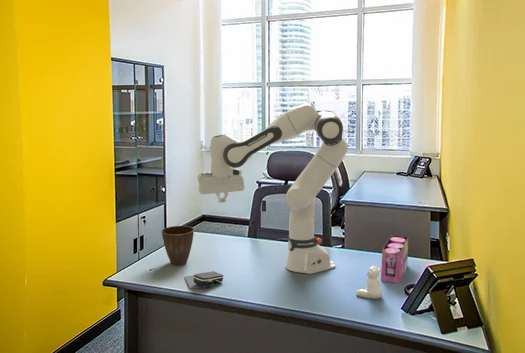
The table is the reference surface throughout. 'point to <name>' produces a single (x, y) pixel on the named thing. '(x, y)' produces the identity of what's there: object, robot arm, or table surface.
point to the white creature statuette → (371, 285)
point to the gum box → (394, 259)
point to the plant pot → (178, 243)
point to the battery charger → (207, 278)
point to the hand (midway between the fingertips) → (222, 202)
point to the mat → (191, 282)
